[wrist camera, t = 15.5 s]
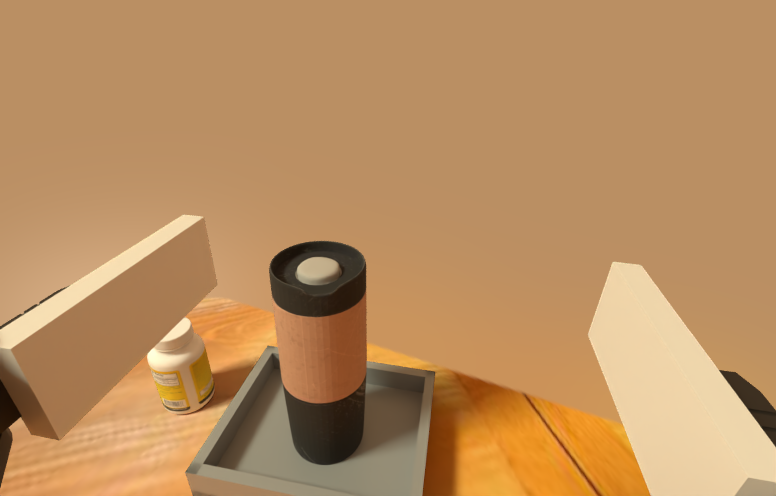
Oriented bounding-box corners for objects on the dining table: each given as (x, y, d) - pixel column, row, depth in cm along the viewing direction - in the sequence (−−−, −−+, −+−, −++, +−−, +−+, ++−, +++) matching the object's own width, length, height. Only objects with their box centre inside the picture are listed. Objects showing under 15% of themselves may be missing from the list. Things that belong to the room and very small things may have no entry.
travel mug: (325, 391, 45) (316, 232, 36) (380, 425, 42) (386, 257, 32) (273, 440, 40) (245, 267, 30) (331, 484, 36) (321, 302, 27)
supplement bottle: (208, 371, 49) (192, 306, 44) (221, 401, 45) (205, 333, 40) (159, 390, 46) (136, 322, 41) (167, 424, 42) (143, 354, 38)
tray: (432, 393, 47) (435, 371, 45) (416, 545, 33) (419, 521, 31) (270, 367, 50) (267, 345, 48) (193, 496, 36) (185, 472, 34)
